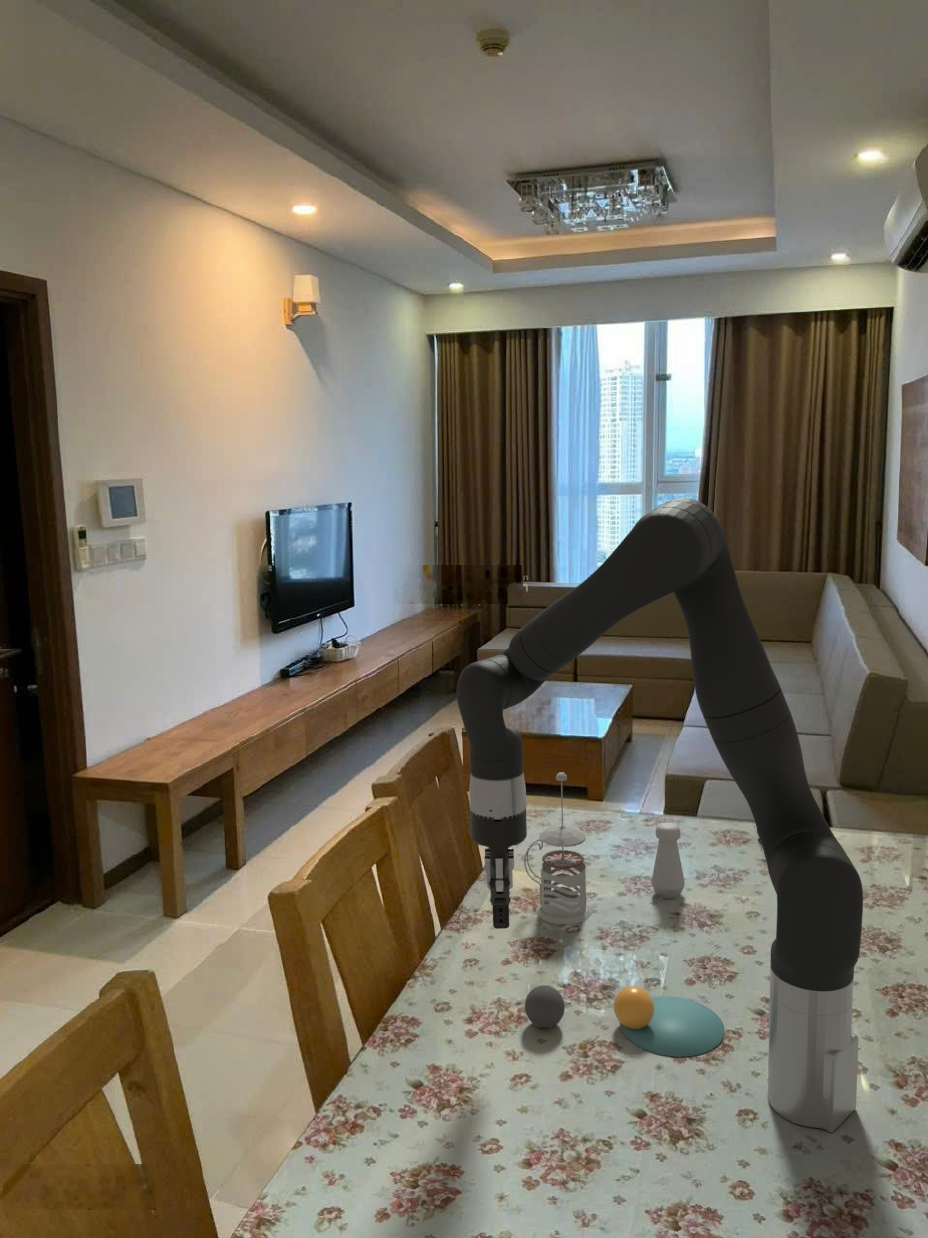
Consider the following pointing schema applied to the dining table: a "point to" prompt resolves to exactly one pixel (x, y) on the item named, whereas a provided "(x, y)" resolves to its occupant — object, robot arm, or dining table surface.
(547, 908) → the french press
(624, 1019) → the orange ball
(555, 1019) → the charcoal ball
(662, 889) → the salt shaker
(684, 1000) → the teal mark
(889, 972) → the dining table surface
